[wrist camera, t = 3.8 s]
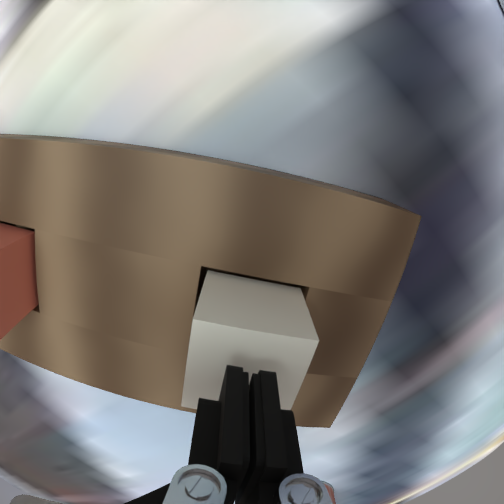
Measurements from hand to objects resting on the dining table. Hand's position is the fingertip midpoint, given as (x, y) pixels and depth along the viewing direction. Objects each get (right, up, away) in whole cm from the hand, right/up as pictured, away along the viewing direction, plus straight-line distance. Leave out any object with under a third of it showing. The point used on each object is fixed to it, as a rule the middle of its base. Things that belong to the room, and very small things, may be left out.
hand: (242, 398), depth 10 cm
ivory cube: (0, +2, +5) cm, 5 cm away
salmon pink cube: (-14, +5, +4) cm, 15 cm away
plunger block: (-7, +5, +9) cm, 12 cm away
